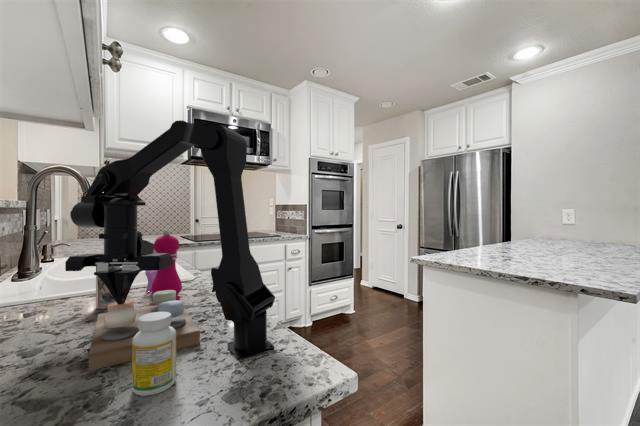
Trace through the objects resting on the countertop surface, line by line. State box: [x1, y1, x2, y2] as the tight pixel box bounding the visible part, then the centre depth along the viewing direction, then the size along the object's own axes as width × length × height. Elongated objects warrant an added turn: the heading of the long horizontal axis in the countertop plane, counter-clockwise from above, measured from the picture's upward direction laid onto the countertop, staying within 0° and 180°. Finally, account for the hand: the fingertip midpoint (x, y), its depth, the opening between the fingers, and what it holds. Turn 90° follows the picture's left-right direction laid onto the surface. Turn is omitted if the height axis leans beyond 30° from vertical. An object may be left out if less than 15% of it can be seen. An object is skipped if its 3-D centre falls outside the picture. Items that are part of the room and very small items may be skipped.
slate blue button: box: [158, 299, 185, 318], centre depth 56 cm, size 4×4×2 cm
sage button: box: [152, 290, 176, 305], centre depth 64 cm, size 4×4×2 cm
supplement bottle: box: [131, 312, 177, 397], centre depth 40 cm, size 5×5×10 cm
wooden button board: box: [88, 305, 201, 372], centre depth 58 cm, size 22×16×3 cm
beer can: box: [95, 266, 116, 310], centre depth 75 cm, size 5×5×12 cm
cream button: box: [105, 307, 135, 328], centre depth 51 cm, size 4×4×2 cm
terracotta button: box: [107, 299, 135, 312], centre depth 59 cm, size 4×4×2 cm
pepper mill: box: [150, 229, 183, 306], centre depth 77 cm, size 7×7×20 cm
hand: (121, 303), depth 59 cm, fingers closed, pressing on terracotta button
